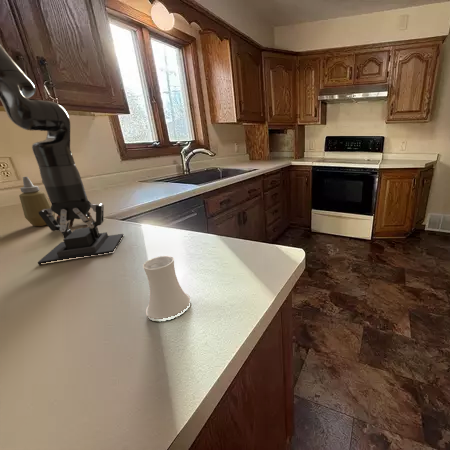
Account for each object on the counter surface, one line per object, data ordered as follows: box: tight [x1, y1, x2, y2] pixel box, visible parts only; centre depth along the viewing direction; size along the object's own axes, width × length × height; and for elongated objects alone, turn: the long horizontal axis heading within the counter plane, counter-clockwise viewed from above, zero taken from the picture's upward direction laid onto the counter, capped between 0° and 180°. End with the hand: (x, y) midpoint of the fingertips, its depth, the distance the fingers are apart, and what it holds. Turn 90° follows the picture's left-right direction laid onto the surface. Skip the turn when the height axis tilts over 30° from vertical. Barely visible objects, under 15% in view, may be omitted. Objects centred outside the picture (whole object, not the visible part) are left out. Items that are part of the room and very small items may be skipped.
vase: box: [142, 255, 191, 319], centre depth 45 cm, size 8×8×10 cm
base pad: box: [37, 232, 124, 264], centre depth 72 cm, size 16×14×2 cm
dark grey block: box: [63, 226, 95, 250], centre depth 71 cm, size 5×9×3 cm, turn 24°
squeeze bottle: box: [18, 176, 56, 227], centre depth 90 cm, size 8×8×18 cm
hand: (83, 240), depth 71 cm, fingers closed on dark grey block, 5 cm apart
